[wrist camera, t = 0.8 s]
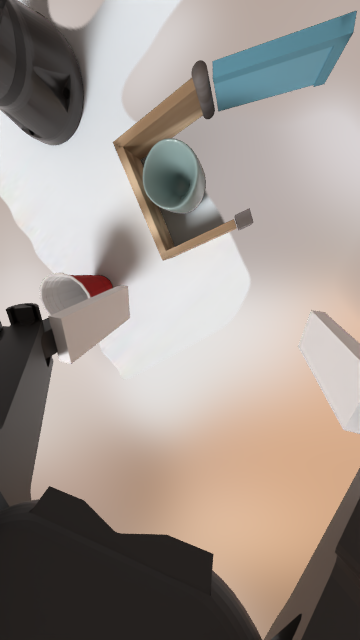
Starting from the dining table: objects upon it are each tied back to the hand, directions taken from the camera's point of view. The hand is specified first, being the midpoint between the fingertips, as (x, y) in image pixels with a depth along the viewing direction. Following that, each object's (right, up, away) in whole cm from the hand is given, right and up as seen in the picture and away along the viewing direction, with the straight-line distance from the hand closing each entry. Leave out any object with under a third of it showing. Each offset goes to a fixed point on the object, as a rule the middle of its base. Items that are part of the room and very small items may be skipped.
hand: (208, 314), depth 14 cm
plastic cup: (-20, +7, +32) cm, 39 cm away
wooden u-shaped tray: (-1, +22, +20) cm, 30 cm away
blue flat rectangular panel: (+10, +31, +13) cm, 35 cm away
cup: (-1, +22, +20) cm, 30 cm away
